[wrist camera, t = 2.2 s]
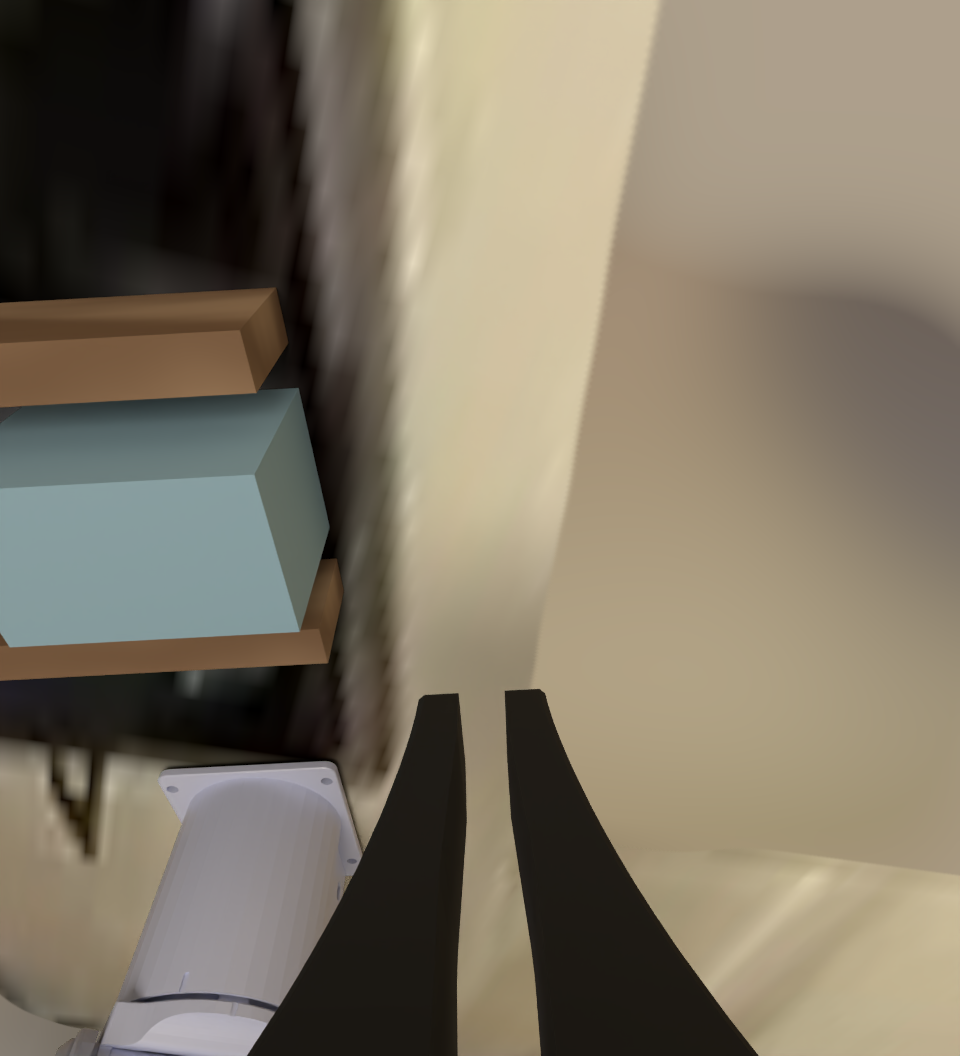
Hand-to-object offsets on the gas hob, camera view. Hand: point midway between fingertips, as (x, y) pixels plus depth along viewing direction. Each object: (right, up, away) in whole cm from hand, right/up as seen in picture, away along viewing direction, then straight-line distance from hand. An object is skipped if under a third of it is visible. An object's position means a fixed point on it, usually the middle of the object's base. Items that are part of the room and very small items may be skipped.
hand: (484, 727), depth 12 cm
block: (-9, +5, +8) cm, 14 cm away
